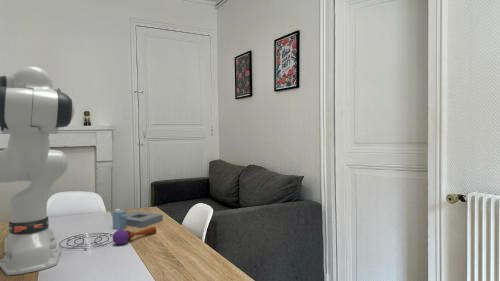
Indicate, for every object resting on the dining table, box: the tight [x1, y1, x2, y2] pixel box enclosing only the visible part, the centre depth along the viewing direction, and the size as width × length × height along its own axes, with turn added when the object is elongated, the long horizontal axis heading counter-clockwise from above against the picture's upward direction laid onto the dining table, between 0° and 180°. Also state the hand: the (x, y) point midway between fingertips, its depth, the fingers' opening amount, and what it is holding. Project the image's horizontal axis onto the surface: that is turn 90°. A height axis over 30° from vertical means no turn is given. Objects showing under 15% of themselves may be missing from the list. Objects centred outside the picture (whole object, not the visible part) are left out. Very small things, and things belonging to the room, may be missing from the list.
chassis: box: [126, 210, 164, 228], centre depth 172 cm, size 18×14×3 cm
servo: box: [111, 208, 127, 231], centre depth 161 cm, size 7×4×9 cm, turn 61°
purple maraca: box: [112, 225, 157, 246], centre depth 144 cm, size 6×6×20 cm
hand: (30, 144), depth 143 cm, fingers open, 8 cm apart
